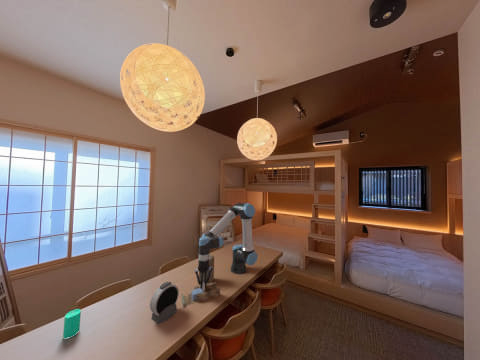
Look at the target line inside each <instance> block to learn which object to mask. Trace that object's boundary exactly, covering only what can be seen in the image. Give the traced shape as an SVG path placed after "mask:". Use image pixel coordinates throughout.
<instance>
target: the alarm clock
mask: <svg viewBox="0 0 480 360" xmlns="http://www.w3.org/2000/svg"><path fill="white" fill-rule="evenodd" d="M179 294H180V290H179V287H178V286H177V285H176V284H174V283H172V282H171V281H165V282H163V283H162V284H161V285H160V286H158V287H157V289H156V290H155V291H153V294H152V296H151V298H150V302H149V308H150V311H151V312H152V314H151V320H152V321H153V322H154V323H156V324H157V325H160V324H162V323H164V322H166V321H168V320H169V319H171V318H172V317H173V316H174V315H175V314H176V313H177V312H178V309H177V307H178V306H177V302H178V299H179Z"/></svg>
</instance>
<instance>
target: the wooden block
mask: <svg viewBox="0 0 480 360" xmlns="http://www.w3.org/2000/svg"><path fill="white" fill-rule="evenodd" d="M209 266H210V267H212V271H211V274H210V279H209V282H207V284H209V283H213V281H214V279H215V256H214V255H210V254H209ZM208 271H209V269H208ZM208 271H207V275H208ZM198 275H199V280H200V276H201V273H200V272H199V271H198ZM207 275H206V279H207ZM203 283H204V273H203Z"/></svg>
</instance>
